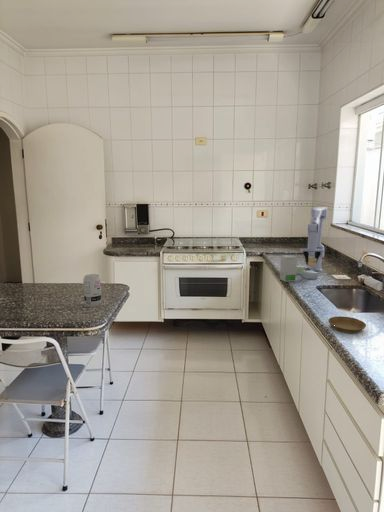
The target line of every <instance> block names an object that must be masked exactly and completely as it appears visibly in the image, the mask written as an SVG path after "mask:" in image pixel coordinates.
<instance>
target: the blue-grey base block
mask: <svg viewBox="0 0 384 512" xmlns="http://www.w3.org/2000/svg"><path fill="white" fill-rule="evenodd" d="M301 276H302V277H303V278H304V279H307V280H312V279H313V280H315V279H318V276H319V274H318V272H317V271H313V270H310V269H309V270H305V271H303V273H302V275H301Z"/></svg>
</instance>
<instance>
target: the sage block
mask: <svg viewBox="0 0 384 512" xmlns="http://www.w3.org/2000/svg"><path fill="white" fill-rule="evenodd" d="M303 271H306V267H305V266H304V265H297V268H296V275H301V276H302V273H303Z"/></svg>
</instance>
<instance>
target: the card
mask: <svg viewBox="0 0 384 512" xmlns="http://www.w3.org/2000/svg"><path fill="white" fill-rule="evenodd" d="M331 277H333V279H335V280H349V281H350V280H352V278H351V277H349V276H348V275H346V274H331Z"/></svg>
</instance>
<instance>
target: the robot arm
mask: <svg viewBox="0 0 384 512" xmlns="http://www.w3.org/2000/svg"><path fill="white" fill-rule="evenodd" d="M310 215H311V219H310V223H309V224H308V225H307V248H300V250H299V252H300V253H302V254H303V257H304V259H305V264H306V263H308V257H315V258H316V259H317V261H316V266H308V267H307V268H308V269H309V270H313V271H315V272H317V271H321V272H323V271H324V270H323V269H322V261H323V260H322V258H324V257H325V246H324V245H323V244H322V233H323V225H324V224H323V223H324V221H325V220H327V217H328V207H327V206H325V207H323V206H322V207H321V206H320V207H319V206H312V207H311V214H310Z"/></svg>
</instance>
